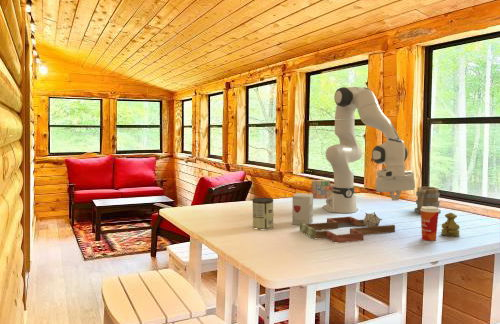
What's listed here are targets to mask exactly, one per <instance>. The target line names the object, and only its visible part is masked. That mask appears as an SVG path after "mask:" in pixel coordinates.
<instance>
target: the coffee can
mask: <svg viewBox="0 0 500 324" xmlns="http://www.w3.org/2000/svg"><path fill="white" fill-rule="evenodd" d="M251 201H252V228H253V227H254V228H257V229H270V230H272V228H273V229H274V199H273V198H271V197H257V198H252V200H251ZM254 228H253V229H254Z"/></svg>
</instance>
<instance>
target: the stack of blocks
mask: <svg viewBox="0 0 500 324" xmlns="http://www.w3.org/2000/svg"><path fill="white" fill-rule="evenodd" d="M310 186H311V194H313V200H322V199H323V200H327V198H328V197H329V196H330V195H331V194H332V193H333V192H332V191H333V189H332V187H334V183H331V181H330V179H311V185H310Z"/></svg>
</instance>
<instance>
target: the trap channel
mask: <svg viewBox="0 0 500 324" xmlns="http://www.w3.org/2000/svg"><path fill="white" fill-rule="evenodd" d="M363 221H364V219H357V218H355V217H353V216H339V217H327V218H326V222H317V223H311V224H304V223H300V225H299V232H301V233H302V232H303V233H302V234H304V233H305V234H304V235H306V234H307V235H308V237H309V236H310V237H309V238H311V237H312V238H313V240H316V239H315V238H321V239H328V240H329V239H330V241H331V240H332V242H333V241H334V242H333V243H335V242H339V243H347V242H346V241H349V242H357V241H359V240H360V241H364V235H372V234H373V235H374V234H383V233H384V234H385V233H392V232H393V233H395V231H396V225H395V224H387V225H378V226H374V227H367V226H366V225H365V224H364V223H361V222H363ZM350 227H353V228H350ZM338 228H349V233H344V234H336V233H334V232H332V231H330V230H333V229H338ZM322 229H324V230H322ZM307 235H306V236H307ZM312 238H311V239H312Z"/></svg>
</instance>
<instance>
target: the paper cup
mask: <svg viewBox="0 0 500 324" xmlns="http://www.w3.org/2000/svg"><path fill="white" fill-rule="evenodd" d="M438 209H439V207H438V208H437V207H433V206H425V207H424V206H422V207H421V209H420V210H421V213H420V221H421V222H420V223H421V239H422V240H424V241H429V242H435V241H436V240H437V232H438V223H439V221H438V220H439V214H438V212H439V210H440V209H439V210H438Z"/></svg>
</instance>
